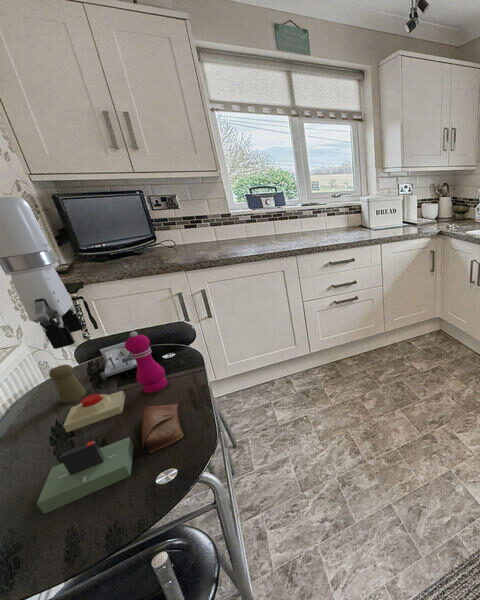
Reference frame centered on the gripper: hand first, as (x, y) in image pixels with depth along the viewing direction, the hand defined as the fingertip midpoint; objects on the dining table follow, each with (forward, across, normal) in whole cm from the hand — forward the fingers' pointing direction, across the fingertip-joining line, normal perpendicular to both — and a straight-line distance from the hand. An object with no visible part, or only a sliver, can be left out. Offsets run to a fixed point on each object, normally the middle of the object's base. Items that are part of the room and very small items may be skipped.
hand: (70, 338), depth 71 cm
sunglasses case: (+30, 0, +8) cm, 31 cm away
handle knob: (+27, +8, -5) cm, 29 cm away
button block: (+30, -22, -8) cm, 38 cm away
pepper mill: (+30, -26, +6) cm, 40 cm away
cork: (+30, -39, -16) cm, 52 cm away
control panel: (+30, +8, -5) cm, 31 cm away
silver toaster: (+30, -50, -4) cm, 58 cm away
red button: (+26, -22, -8) cm, 35 cm away
